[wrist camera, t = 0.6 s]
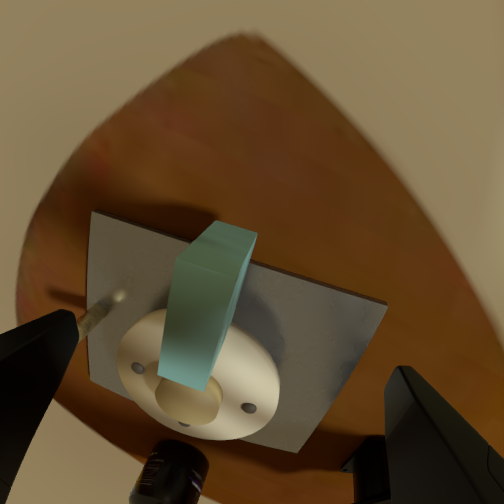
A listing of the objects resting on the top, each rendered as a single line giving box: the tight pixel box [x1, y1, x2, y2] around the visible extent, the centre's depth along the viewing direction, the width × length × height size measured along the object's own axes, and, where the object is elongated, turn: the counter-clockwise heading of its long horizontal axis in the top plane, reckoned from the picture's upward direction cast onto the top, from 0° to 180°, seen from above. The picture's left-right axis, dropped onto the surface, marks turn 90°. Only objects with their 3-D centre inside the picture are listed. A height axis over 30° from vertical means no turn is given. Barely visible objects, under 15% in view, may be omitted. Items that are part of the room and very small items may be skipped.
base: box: [76, 210, 388, 453], centre depth 22 cm, size 18×22×6 cm
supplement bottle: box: [129, 440, 209, 504], centre depth 25 cm, size 7×7×12 cm
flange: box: [117, 220, 280, 440], centre depth 18 cm, size 18×12×6 cm
